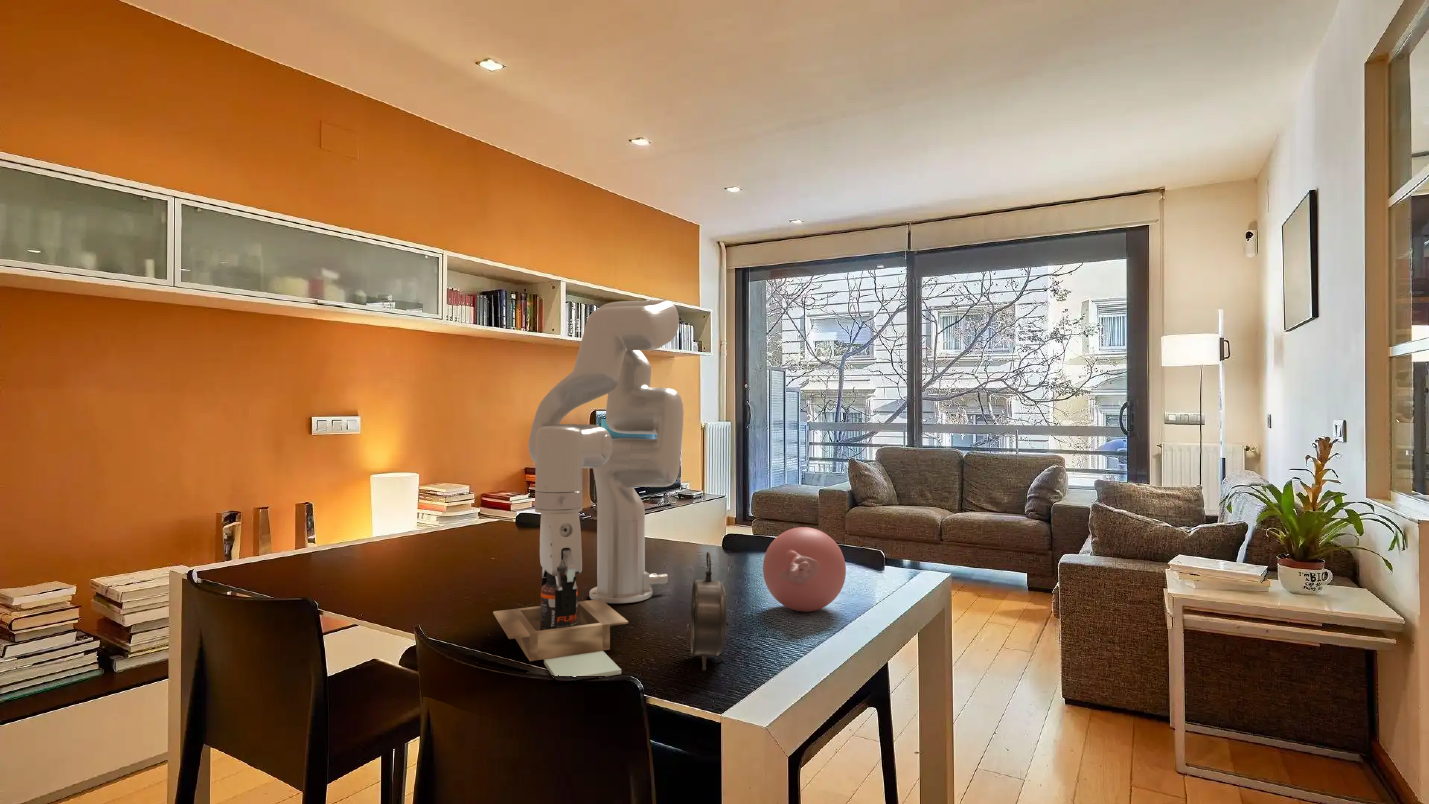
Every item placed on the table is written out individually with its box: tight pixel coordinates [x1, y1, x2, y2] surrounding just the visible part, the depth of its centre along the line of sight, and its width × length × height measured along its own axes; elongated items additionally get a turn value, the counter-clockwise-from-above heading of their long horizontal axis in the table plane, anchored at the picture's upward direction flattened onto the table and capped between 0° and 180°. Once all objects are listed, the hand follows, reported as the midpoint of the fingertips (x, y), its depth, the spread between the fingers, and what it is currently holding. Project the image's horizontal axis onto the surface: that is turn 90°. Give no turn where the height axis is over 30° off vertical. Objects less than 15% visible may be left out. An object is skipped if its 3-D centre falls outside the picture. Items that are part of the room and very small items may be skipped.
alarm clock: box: [689, 551, 730, 672], centre depth 109 cm, size 11×5×16 cm, turn 5°
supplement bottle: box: [540, 572, 579, 631], centre depth 119 cm, size 6×6×11 cm
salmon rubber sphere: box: [762, 526, 847, 613], centre depth 135 cm, size 15×20×15 cm
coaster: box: [543, 650, 622, 677], centre depth 106 cm, size 9×9×1 cm
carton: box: [492, 599, 629, 662], centre depth 119 cm, size 18×15×4 cm
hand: (558, 608), depth 119 cm, fingers open, 9 cm apart
